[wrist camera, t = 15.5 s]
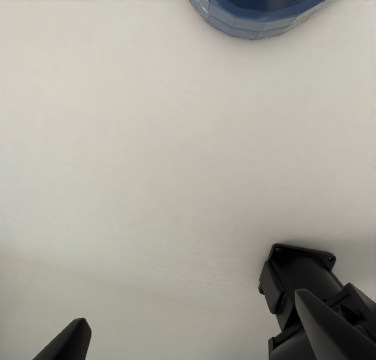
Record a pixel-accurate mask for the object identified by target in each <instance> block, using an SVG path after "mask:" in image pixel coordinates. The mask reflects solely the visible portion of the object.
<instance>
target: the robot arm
mask: <svg viewBox="0 0 376 360" xmlns="http://www.w3.org/2000/svg"><path fill="white" fill-rule="evenodd" d="M276 248H279V249H278V250H276ZM329 258H331V259H329ZM335 261H336V257H335V256H334V255H333V254H331V253H327V252H321V251H316V250H310V249H305V248H299V247H294V246H288V245H283V244H274V245H273V246H272V249H271V252H270V255H269V258H268V261H266V262H265V264H264V267H263V270H262V273H261V276H260V279H259V280H260V284H259V287H258V289H259V292H260V293H261V294H263V295H265V298H266V301H267V304H268V307H269V310H270V312H271V313H272V314H275V315H276V317H277V320H278V323H279V326H280V329H281V331H282V333H280V334H279V335H277V336H276V337H272V338H271V339H269V340H268V347H269V360H376V303H375V302H374V301H372V300H371V299H370V298H369V297H367V296H366V295H365V294H364V293H363V292H361V291H360V290H359V289H358V288H356V287H355V286H354V285H353V284H351V283H350V282H349V283H348V284H347V285H345V286H343V285H342V283H341V282H340V281H339V280H338V278H337V277H336V276H335V275H334V274H333V272H332V271H331V270H332V268H333V266H334V264H335ZM91 334H92V333H91V329H90V327H89V325H88V323H87V321H86V319H85V318H77V319H74V320H73V321H72V322H71V323H70V324H69V325H68V326H67V327H66V328H65V329H64V330H63V331H62V332H61V333H59V334H58V335H57V336H56V337H55V338H54V339H53V340H52V341H51V342H50V343H49V344H48V345H47V346H46V347H45V348H44V349H43V350H42V351H41V352H40V353H39V354H38V355H37V356H36V357H35V358H34V359H33V360H85V358H86V354H87V350H88V347H89V343H90V339H91Z"/></svg>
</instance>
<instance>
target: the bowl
mask: <svg viewBox="0 0 376 360" xmlns="http://www.w3.org/2000/svg"><path fill="white" fill-rule="evenodd" d="M326 1H327V0H190V2H191V4H192V5H193V6H194V7H195V8H196V10H197V11H198V12H199V13H200V14H201V16H202V17H203V18H204V19H205V20H206V22H207V23H209V24H210V25H212V26H213V27H215V28H217V29H219V30H220V31H222V32H224V33H226V34H227V35H229V36H233V37H239V38H245V39H252V40H254V39H255V40H257V39H262V38H267V37H272V36H277V35H280V34H283V33H284V32H286V31H288V30H290V29H291V28H293V27H295V26H297V25H299V24H300V23H302V22H304V21H305V20H307V19H308V18H309V17H310V16H311V15H312V14H313V13H314V12H315V11H316V10H317V9H318V8H319V7H320V6H322V5H323V4H324V3H325V2H326Z"/></svg>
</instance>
